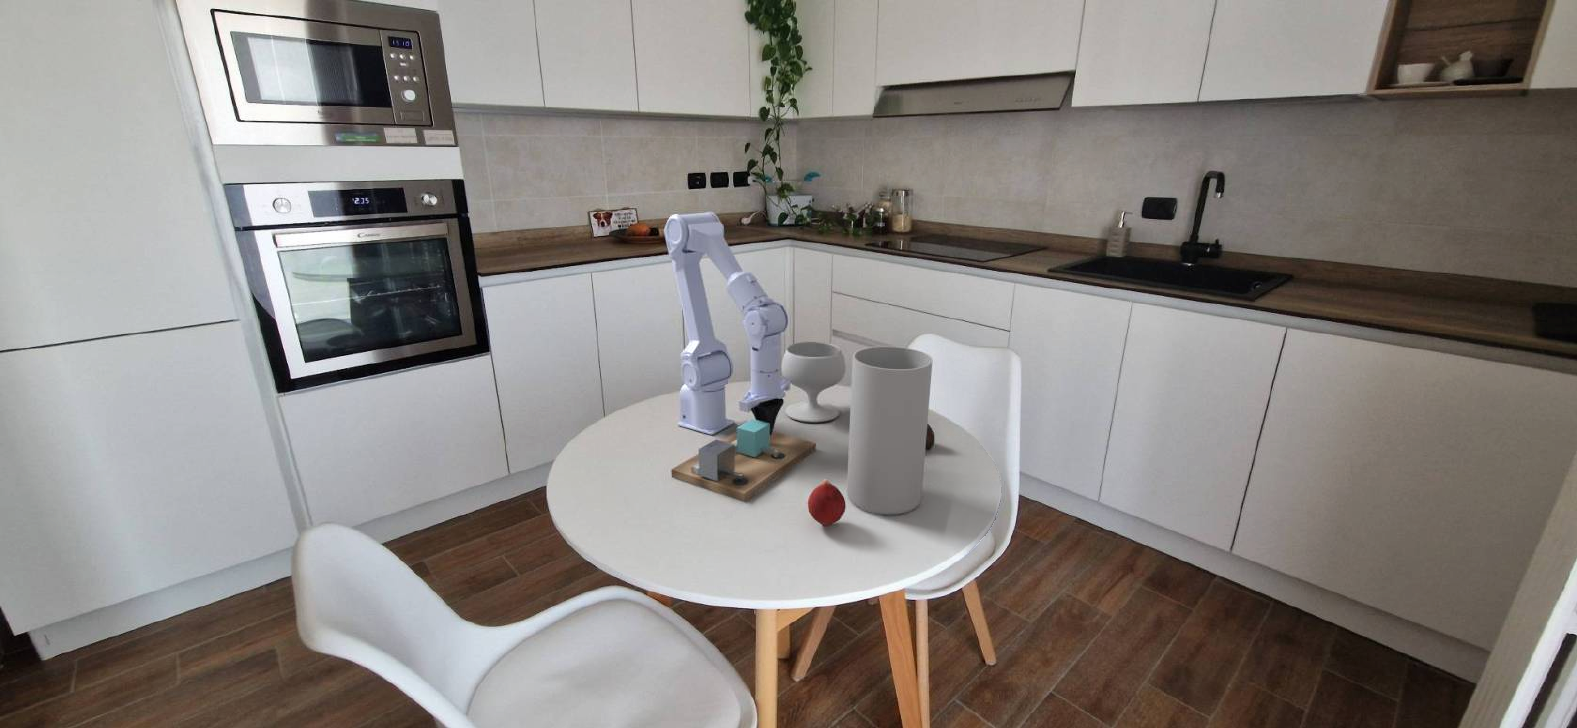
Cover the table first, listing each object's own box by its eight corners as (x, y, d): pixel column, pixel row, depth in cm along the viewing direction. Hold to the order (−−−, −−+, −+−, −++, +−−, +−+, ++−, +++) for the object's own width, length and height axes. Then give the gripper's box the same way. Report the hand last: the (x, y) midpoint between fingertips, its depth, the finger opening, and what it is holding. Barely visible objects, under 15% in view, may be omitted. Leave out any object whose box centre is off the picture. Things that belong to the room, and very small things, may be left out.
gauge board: (671, 476, 119) (671, 463, 119) (749, 431, 139) (748, 419, 138) (744, 501, 111) (744, 487, 111) (815, 449, 131) (816, 437, 130)
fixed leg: (699, 475, 116) (698, 449, 115) (716, 464, 120) (716, 439, 119) (733, 486, 112) (733, 459, 111) (751, 475, 117) (750, 449, 115)
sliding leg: (737, 452, 125) (736, 427, 124) (752, 442, 129) (752, 418, 128) (770, 461, 122) (770, 436, 120) (785, 451, 126) (785, 427, 124)
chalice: (794, 429, 140) (795, 361, 135) (772, 406, 152) (772, 343, 148) (854, 420, 145) (857, 355, 140) (827, 399, 157) (829, 337, 153)
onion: (848, 519, 106) (850, 474, 104) (839, 538, 101) (840, 491, 99) (813, 513, 108) (814, 468, 106) (802, 531, 103) (803, 485, 101)
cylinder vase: (878, 524, 105) (887, 375, 97) (832, 491, 115) (837, 353, 107) (936, 504, 111) (949, 362, 104) (887, 474, 121) (896, 342, 114)
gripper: (761, 382, 117) (761, 453, 121) (803, 361, 129) (802, 426, 133) (729, 375, 121) (730, 444, 125) (773, 355, 132) (773, 419, 137)
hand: (765, 434), depth 129 cm, fingers closed
